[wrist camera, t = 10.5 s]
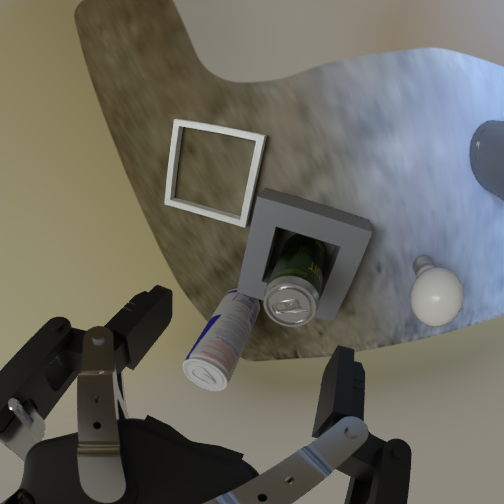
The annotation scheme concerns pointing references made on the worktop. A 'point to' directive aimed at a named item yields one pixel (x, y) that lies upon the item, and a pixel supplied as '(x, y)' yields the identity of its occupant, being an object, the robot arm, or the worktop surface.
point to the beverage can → (222, 341)
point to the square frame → (206, 210)
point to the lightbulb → (435, 293)
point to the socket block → (312, 225)
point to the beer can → (296, 282)
